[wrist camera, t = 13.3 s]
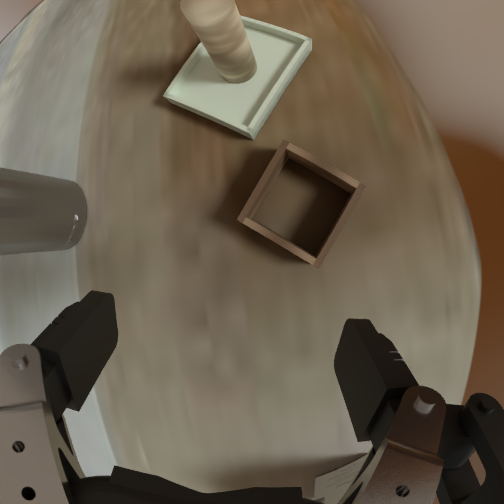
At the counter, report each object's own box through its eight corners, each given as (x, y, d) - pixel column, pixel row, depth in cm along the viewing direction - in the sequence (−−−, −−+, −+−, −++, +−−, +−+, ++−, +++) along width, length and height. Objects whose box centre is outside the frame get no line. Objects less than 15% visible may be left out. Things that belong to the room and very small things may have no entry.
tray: (171, 103, 30) (162, 95, 28) (229, 22, 29) (225, 11, 27) (253, 140, 29) (249, 133, 27) (311, 49, 27) (311, 38, 25)
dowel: (230, 89, 28) (190, 23, 16) (214, 65, 28) (173, -1, 17) (263, 72, 28) (240, -1, 16) (246, 49, 28) (217, -23, 16)
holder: (244, 221, 30) (236, 219, 26) (285, 150, 29) (283, 139, 25) (317, 264, 29) (318, 268, 25) (358, 191, 28) (365, 186, 24)
